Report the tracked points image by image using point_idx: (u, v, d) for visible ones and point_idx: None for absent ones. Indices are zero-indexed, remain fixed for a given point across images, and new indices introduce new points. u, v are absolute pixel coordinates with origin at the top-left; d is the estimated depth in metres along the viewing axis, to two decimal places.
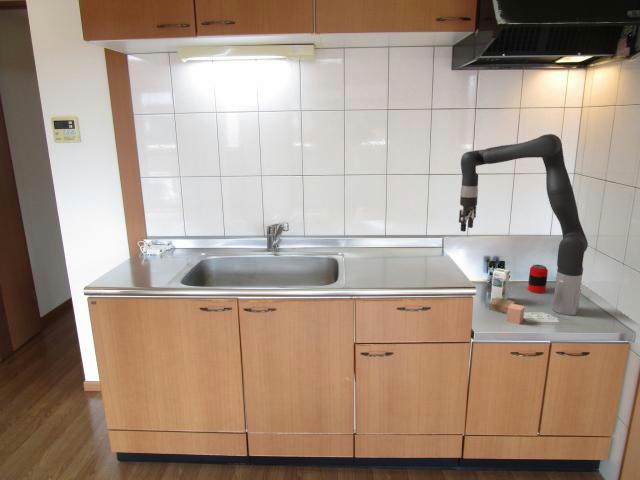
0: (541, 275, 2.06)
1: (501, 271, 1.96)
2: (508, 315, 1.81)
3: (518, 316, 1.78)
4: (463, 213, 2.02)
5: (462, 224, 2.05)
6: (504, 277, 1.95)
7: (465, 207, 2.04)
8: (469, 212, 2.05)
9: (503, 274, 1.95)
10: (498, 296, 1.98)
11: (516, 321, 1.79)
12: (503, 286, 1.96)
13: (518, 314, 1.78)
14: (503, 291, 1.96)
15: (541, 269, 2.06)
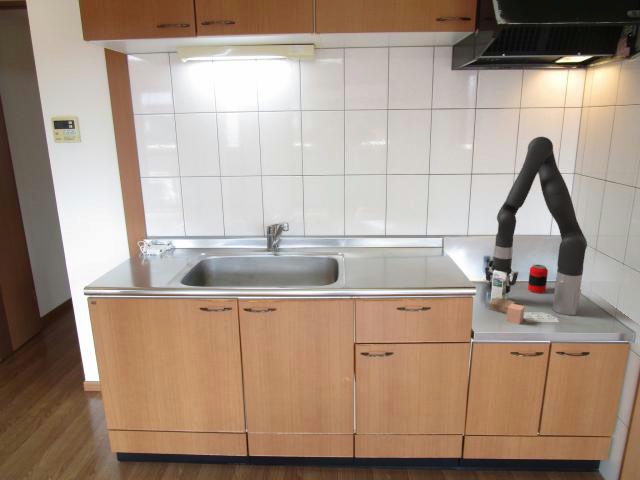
0: (541, 275, 2.06)
1: (501, 271, 1.96)
2: (508, 315, 1.81)
3: (518, 316, 1.78)
4: (517, 275, 1.94)
5: (510, 286, 1.97)
6: (504, 277, 1.95)
7: (510, 268, 1.95)
8: None
9: (503, 274, 1.95)
10: (498, 296, 1.98)
11: (516, 321, 1.79)
12: (503, 286, 1.96)
13: (518, 314, 1.78)
14: (503, 291, 1.96)
15: (541, 269, 2.06)
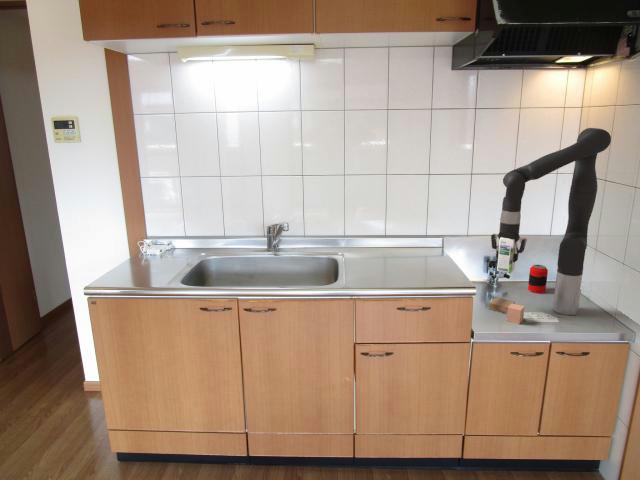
0: (541, 275, 2.06)
1: (508, 238, 1.83)
2: (508, 315, 1.81)
3: (518, 316, 1.78)
4: (525, 242, 1.81)
5: (517, 254, 1.84)
6: (511, 244, 1.82)
7: (518, 234, 1.82)
8: None
9: (510, 241, 1.82)
10: (505, 265, 1.85)
11: (516, 321, 1.79)
12: (510, 254, 1.83)
13: (518, 314, 1.78)
14: (510, 259, 1.83)
15: (541, 269, 2.06)
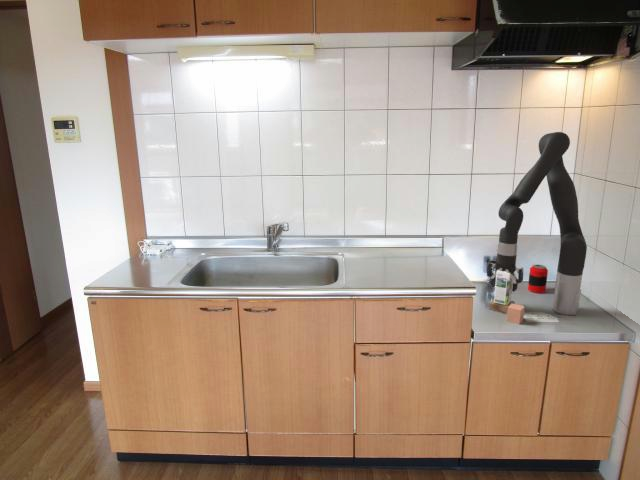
0: (541, 275, 2.06)
1: (505, 271, 1.87)
2: (508, 315, 1.81)
3: (518, 316, 1.78)
4: (522, 271, 1.84)
5: (517, 283, 1.86)
6: (508, 277, 1.86)
7: (515, 265, 1.85)
8: None
9: (507, 274, 1.86)
10: (502, 297, 1.89)
11: (516, 321, 1.79)
12: (507, 286, 1.87)
13: (518, 314, 1.78)
14: (507, 292, 1.87)
15: (541, 269, 2.06)
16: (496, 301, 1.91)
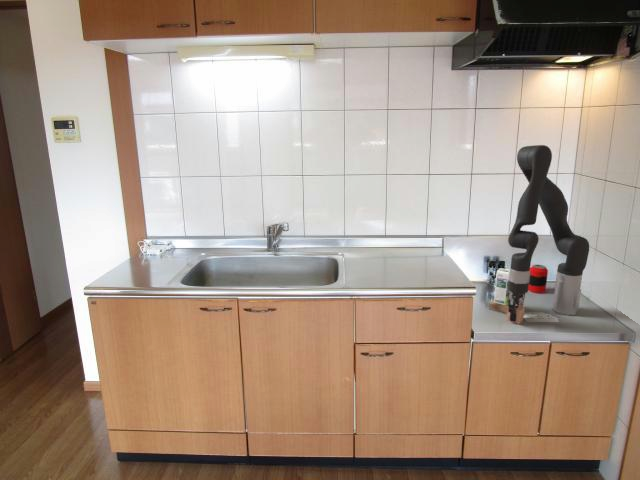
0: (541, 275, 2.06)
1: (505, 272, 1.87)
2: (508, 315, 1.81)
3: (518, 316, 1.78)
4: None
5: None
6: (508, 278, 1.86)
7: None
8: None
9: (507, 274, 1.86)
10: (502, 297, 1.89)
11: (516, 321, 1.79)
12: (507, 287, 1.87)
13: (518, 314, 1.78)
14: (507, 292, 1.87)
15: (541, 269, 2.06)
16: (496, 301, 1.91)
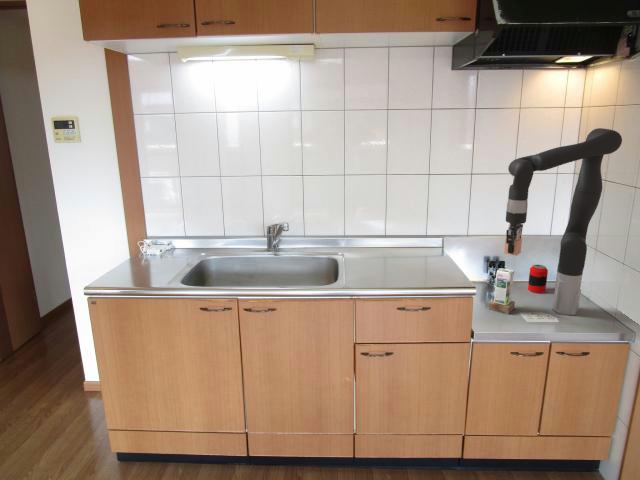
0: (541, 275, 2.06)
1: (505, 272, 1.87)
2: (506, 247, 1.80)
3: (516, 247, 1.78)
4: None
5: None
6: (508, 278, 1.86)
7: None
8: None
9: (507, 274, 1.86)
10: (502, 297, 1.89)
11: (514, 253, 1.79)
12: (507, 287, 1.87)
13: (516, 245, 1.78)
14: (507, 292, 1.87)
15: (541, 269, 2.06)
16: (496, 301, 1.91)
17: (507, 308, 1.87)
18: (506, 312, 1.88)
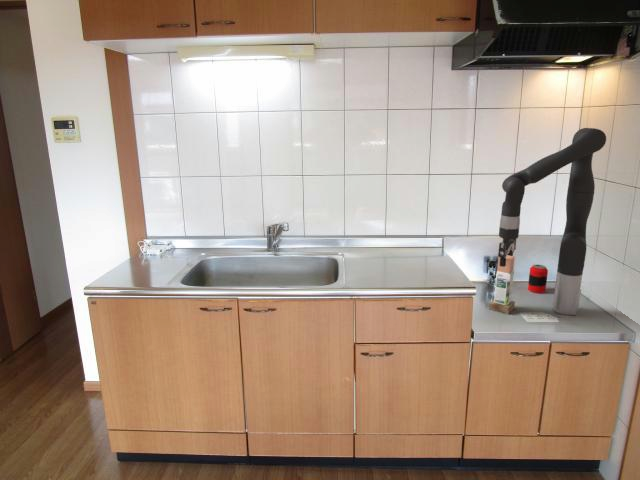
0: (541, 275, 2.06)
1: (505, 272, 1.87)
2: (499, 265, 1.87)
3: (508, 265, 1.85)
4: None
5: None
6: (508, 278, 1.86)
7: None
8: None
9: (507, 274, 1.86)
10: (502, 297, 1.89)
11: (506, 270, 1.86)
12: (507, 287, 1.87)
13: (508, 263, 1.84)
14: (507, 292, 1.87)
15: (541, 269, 2.06)
16: (496, 301, 1.91)
17: (507, 308, 1.87)
18: (506, 312, 1.88)
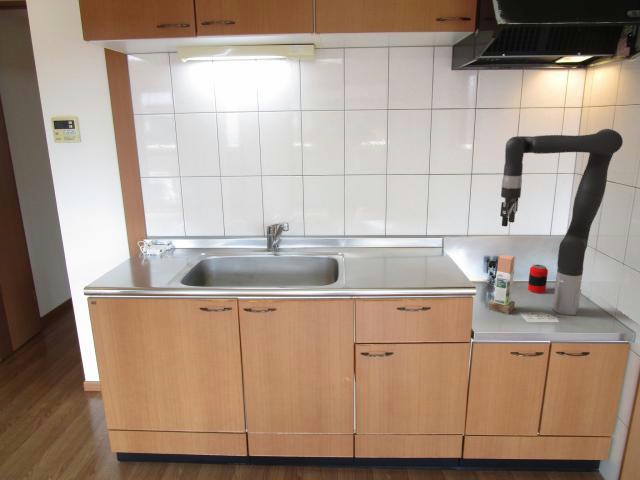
0: (541, 275, 2.06)
1: None
2: (499, 265, 1.87)
3: (508, 265, 1.85)
4: None
5: None
6: (508, 278, 1.86)
7: None
8: None
9: (507, 274, 1.86)
10: (502, 297, 1.89)
11: (506, 270, 1.86)
12: (507, 287, 1.87)
13: (508, 263, 1.84)
14: (507, 292, 1.87)
15: (541, 269, 2.06)
16: (496, 301, 1.91)
17: (507, 308, 1.87)
18: (506, 312, 1.88)
